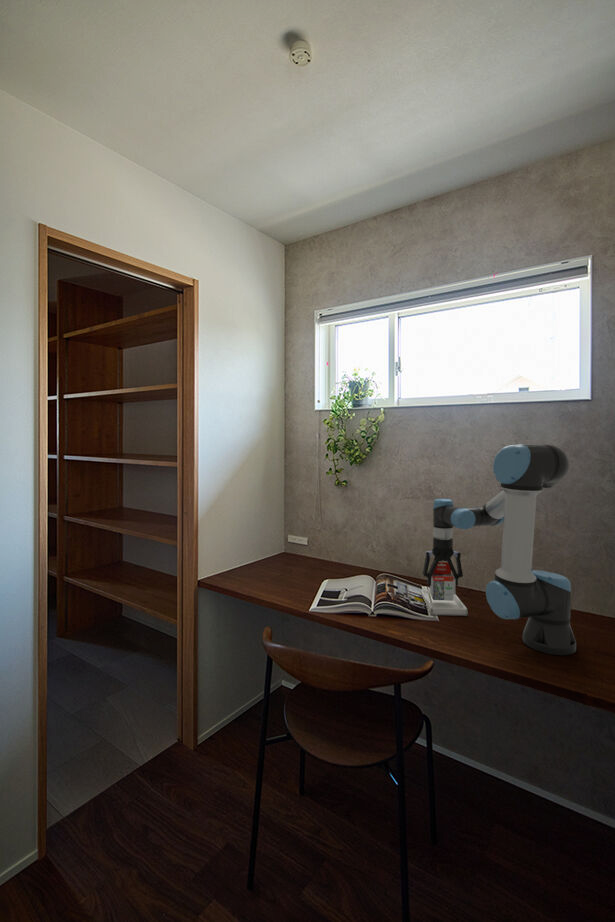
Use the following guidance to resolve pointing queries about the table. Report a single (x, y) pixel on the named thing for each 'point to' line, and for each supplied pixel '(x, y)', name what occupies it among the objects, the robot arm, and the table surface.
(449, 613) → the tray
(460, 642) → the table surface
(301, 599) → the table surface
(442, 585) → the ink box
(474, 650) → the table surface
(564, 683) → the table surface
